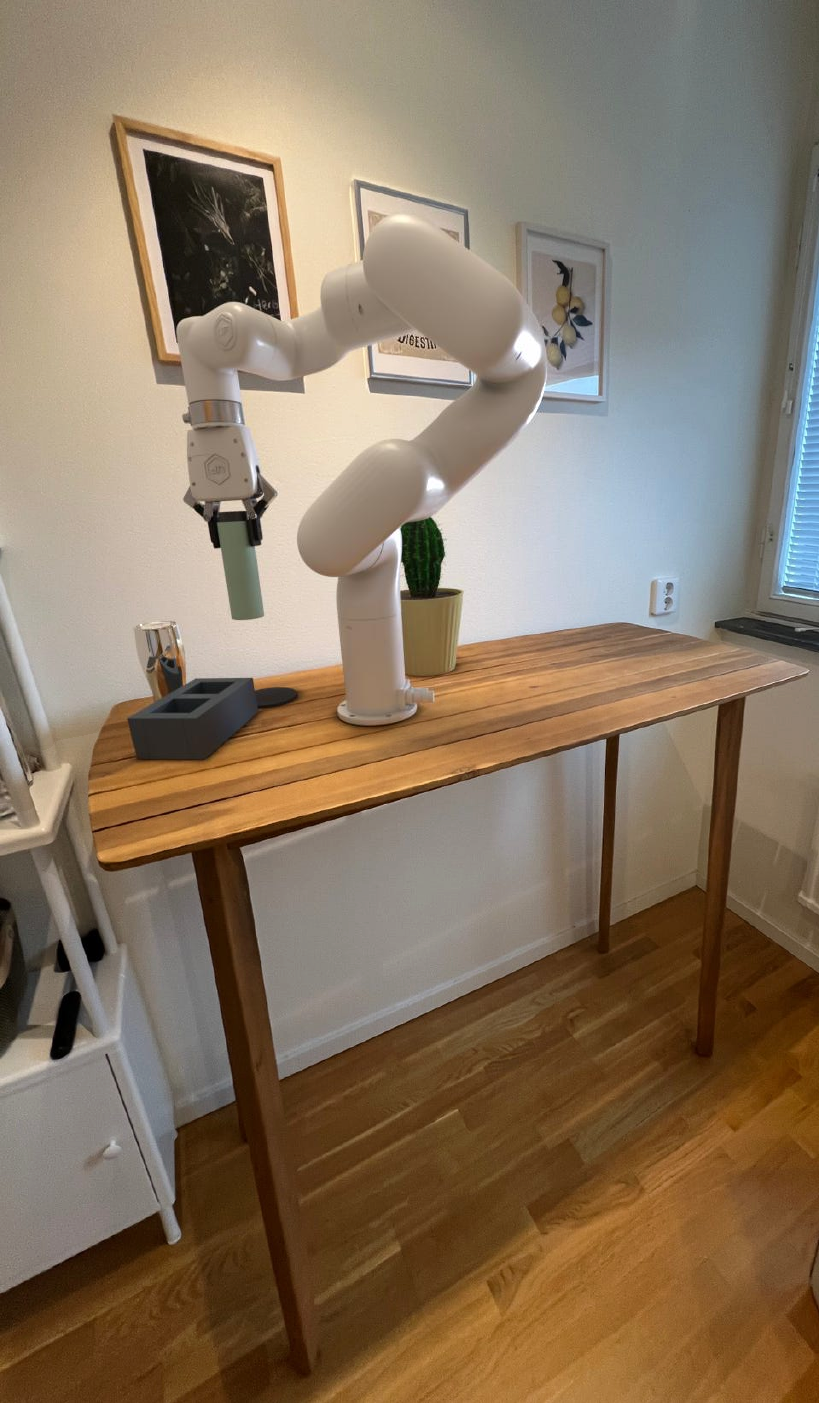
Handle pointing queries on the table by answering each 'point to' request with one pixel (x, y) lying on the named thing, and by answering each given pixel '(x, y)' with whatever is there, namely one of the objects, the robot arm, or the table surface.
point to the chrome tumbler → (161, 656)
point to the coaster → (274, 696)
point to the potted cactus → (427, 603)
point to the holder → (193, 719)
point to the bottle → (240, 566)
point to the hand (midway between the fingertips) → (237, 545)
